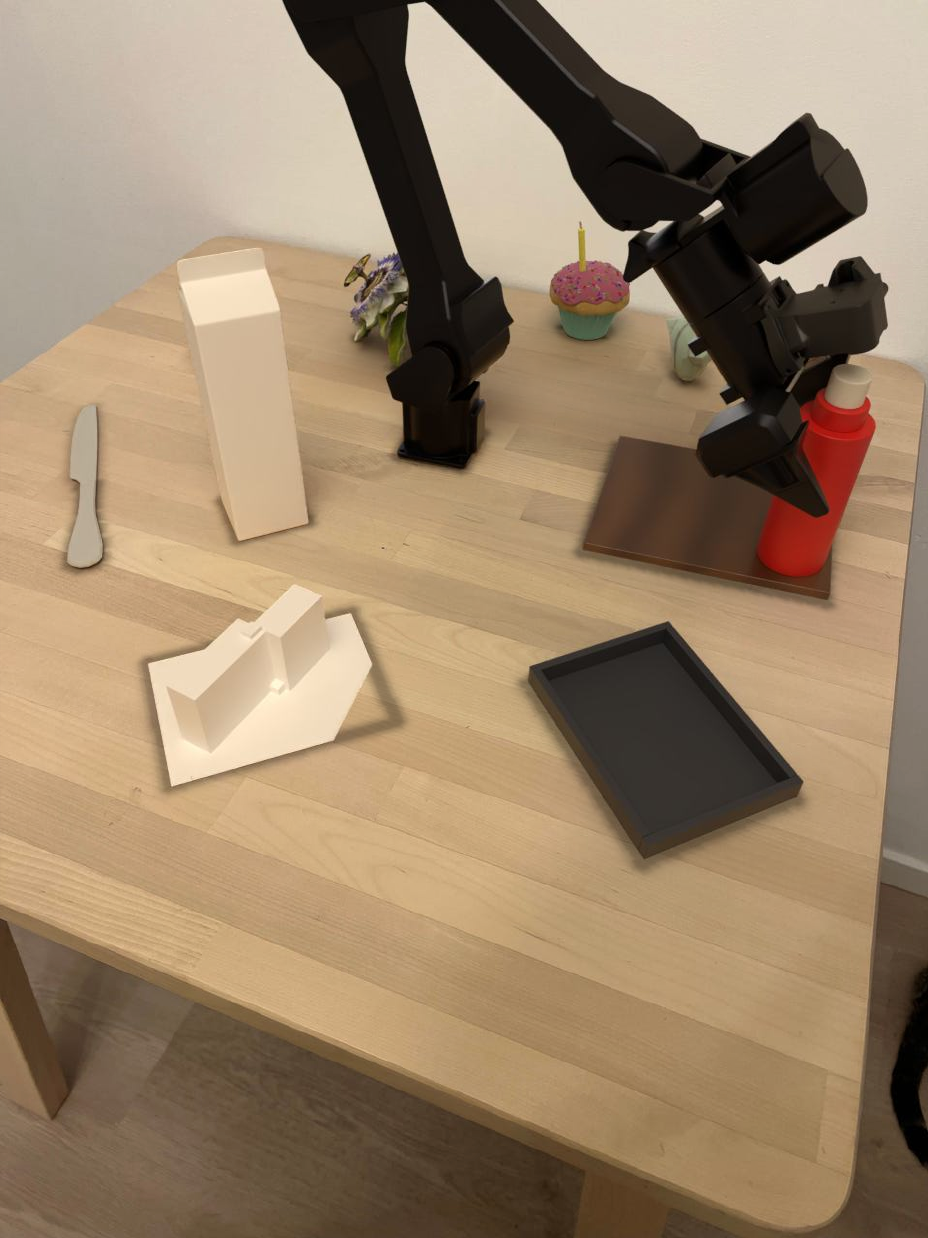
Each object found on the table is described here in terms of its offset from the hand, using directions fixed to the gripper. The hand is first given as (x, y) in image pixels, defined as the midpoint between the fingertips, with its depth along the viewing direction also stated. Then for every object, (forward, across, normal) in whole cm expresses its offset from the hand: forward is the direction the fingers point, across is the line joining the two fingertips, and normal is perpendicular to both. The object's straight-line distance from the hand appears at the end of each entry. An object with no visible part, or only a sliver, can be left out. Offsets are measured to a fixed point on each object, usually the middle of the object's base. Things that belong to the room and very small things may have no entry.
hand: (840, 480), depth 67 cm
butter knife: (-34, -20, +47) cm, 61 cm away
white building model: (-14, -31, +27) cm, 43 cm away
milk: (-23, -16, +36) cm, 45 cm away
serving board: (0, +3, +13) cm, 13 cm away
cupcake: (-16, +27, +29) cm, 43 cm away
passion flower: (-27, +14, +40) cm, 50 cm away
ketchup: (+4, 0, +7) cm, 8 cm away
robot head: (-7, +23, +20) cm, 31 cm away
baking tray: (+4, -22, +9) cm, 24 cm away
